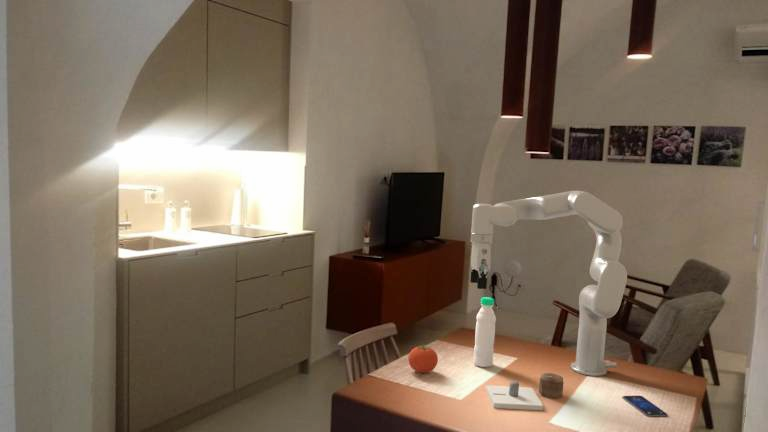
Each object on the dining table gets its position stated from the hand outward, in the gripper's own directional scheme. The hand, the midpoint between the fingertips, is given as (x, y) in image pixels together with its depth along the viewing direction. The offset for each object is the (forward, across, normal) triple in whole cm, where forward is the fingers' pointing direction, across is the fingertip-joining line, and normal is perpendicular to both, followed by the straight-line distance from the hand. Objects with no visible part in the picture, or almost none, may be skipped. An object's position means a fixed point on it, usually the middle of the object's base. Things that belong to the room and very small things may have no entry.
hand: (478, 285), depth 212 cm
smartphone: (+31, -34, -47) cm, 65 cm away
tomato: (+30, -7, +20) cm, 37 cm away
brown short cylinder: (+30, -25, -20) cm, 44 cm away
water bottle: (+30, +2, -4) cm, 30 cm away
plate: (+30, -30, -6) cm, 43 cm away
